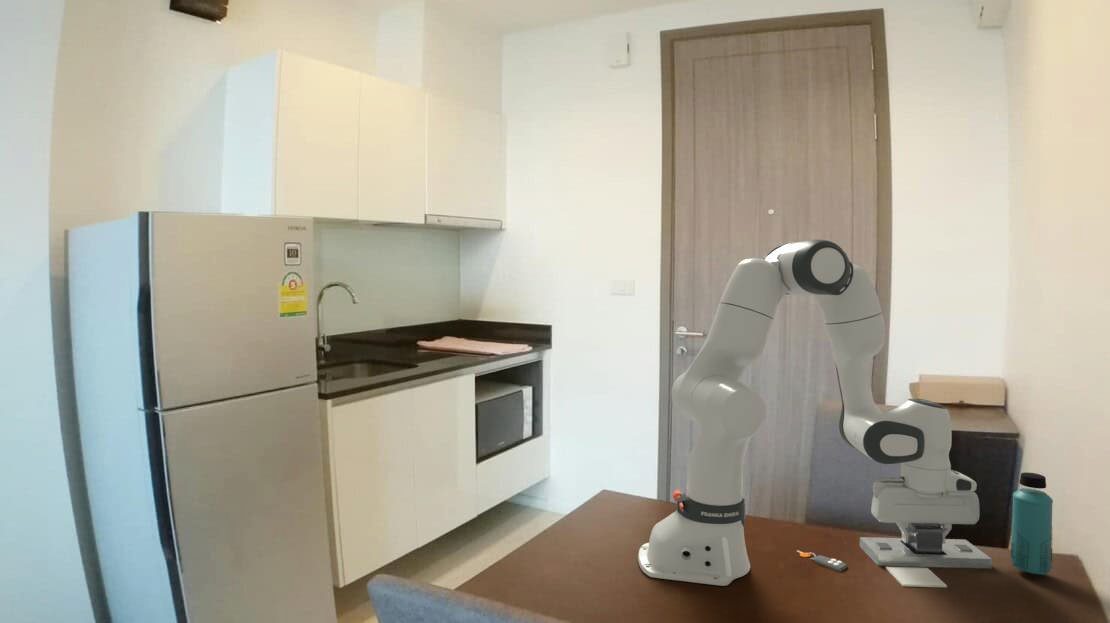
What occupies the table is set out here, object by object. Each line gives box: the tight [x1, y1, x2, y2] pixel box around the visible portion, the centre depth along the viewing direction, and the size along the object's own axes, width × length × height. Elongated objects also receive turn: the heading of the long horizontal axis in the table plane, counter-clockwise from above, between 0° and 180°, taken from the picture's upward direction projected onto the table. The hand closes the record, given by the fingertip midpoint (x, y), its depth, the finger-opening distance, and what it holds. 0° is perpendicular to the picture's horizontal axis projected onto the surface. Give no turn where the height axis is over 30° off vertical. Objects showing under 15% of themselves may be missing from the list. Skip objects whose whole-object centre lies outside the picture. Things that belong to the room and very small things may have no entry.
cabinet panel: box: [859, 536, 993, 569], centre depth 130 cm, size 22×9×2 cm, turn 86°
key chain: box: [796, 550, 848, 573], centre depth 130 cm, size 13×4×2 cm, turn 40°
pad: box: [885, 566, 948, 589], centre depth 121 cm, size 8×7×1 cm
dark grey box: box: [905, 523, 944, 555], centre depth 130 cm, size 5×5×7 cm
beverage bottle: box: [1009, 471, 1054, 575], centre depth 122 cm, size 6×7×20 cm
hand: (923, 542), depth 130 cm, fingers closed on dark grey box, 5 cm apart
